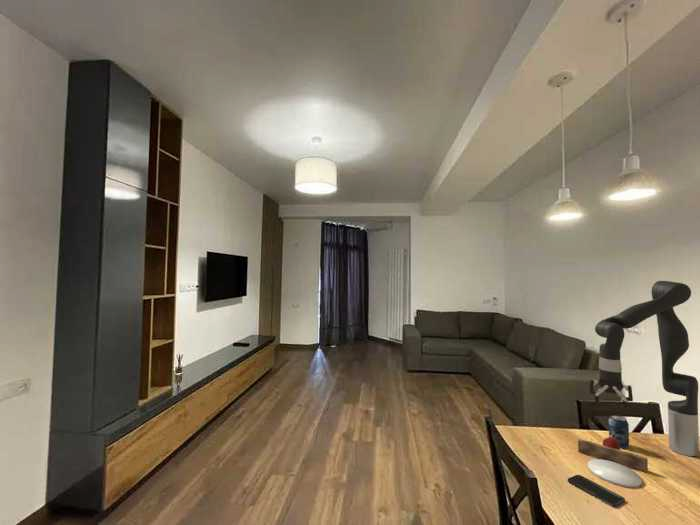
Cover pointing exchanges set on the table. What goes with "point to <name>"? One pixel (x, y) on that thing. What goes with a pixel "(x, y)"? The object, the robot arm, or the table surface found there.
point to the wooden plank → (613, 455)
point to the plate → (614, 473)
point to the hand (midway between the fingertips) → (610, 407)
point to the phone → (597, 491)
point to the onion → (611, 443)
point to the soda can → (619, 430)
